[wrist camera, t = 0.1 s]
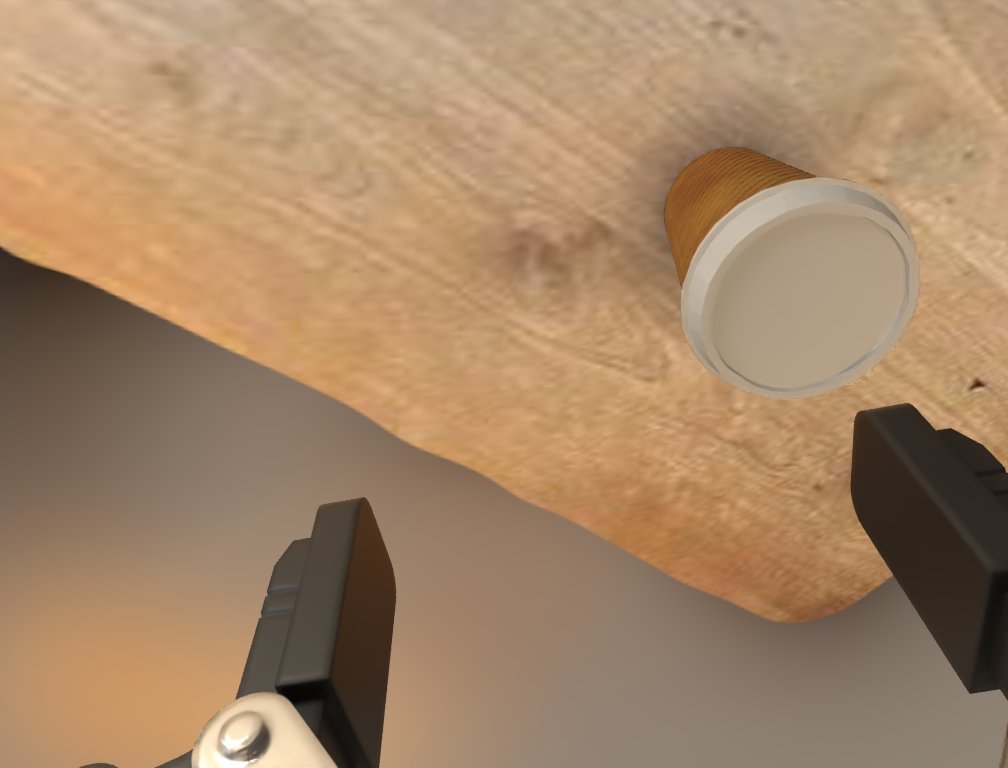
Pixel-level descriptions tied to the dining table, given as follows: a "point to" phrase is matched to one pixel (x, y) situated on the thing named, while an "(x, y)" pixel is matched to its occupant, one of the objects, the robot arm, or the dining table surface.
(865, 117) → the dining table surface
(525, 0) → the dining table surface
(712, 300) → the disposable coffee cup
